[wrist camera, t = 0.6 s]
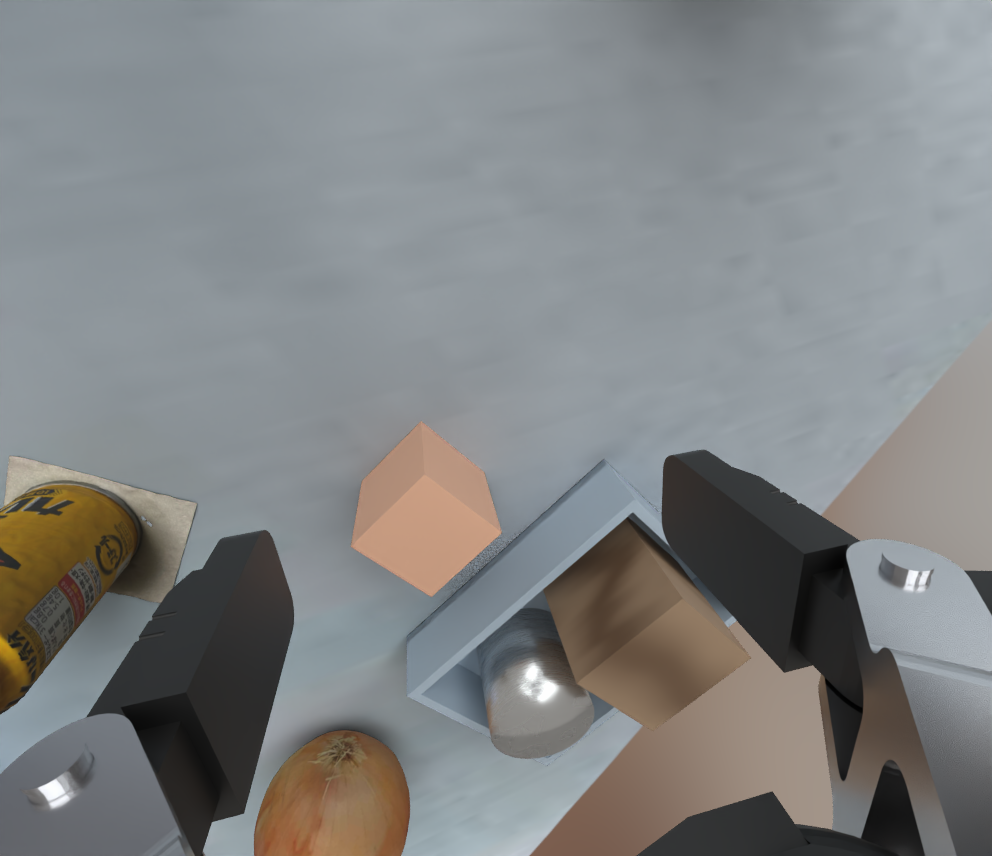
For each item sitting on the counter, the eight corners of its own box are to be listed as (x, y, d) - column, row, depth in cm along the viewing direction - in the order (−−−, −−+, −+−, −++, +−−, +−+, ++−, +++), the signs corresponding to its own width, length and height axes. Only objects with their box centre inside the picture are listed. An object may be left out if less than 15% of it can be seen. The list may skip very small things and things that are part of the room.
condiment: (12, 453, 24) (-317, 655, 13) (198, 501, 26) (53, 703, 16) (-3, 566, 26) (-296, 818, 15) (170, 600, 29) (26, 836, 18)
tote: (603, 459, 30) (635, 498, 25) (711, 563, 35) (751, 609, 31) (406, 636, 33) (406, 696, 29) (532, 707, 38) (546, 766, 34)
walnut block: (618, 506, 30) (682, 598, 23) (677, 561, 33) (751, 657, 26) (538, 576, 32) (576, 683, 25) (601, 622, 35) (652, 731, 27)
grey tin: (523, 593, 32) (547, 670, 27) (582, 634, 35) (614, 712, 29) (457, 650, 33) (467, 735, 28) (519, 686, 36) (539, 770, 30)
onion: (288, 795, 38) (251, 979, 29) (262, 710, 33) (209, 894, 24) (414, 773, 39) (416, 941, 30) (403, 689, 35) (402, 855, 26)
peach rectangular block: (421, 420, 27) (424, 474, 21) (484, 472, 29) (501, 532, 23) (361, 480, 27) (350, 546, 22) (426, 526, 29) (431, 597, 24)
